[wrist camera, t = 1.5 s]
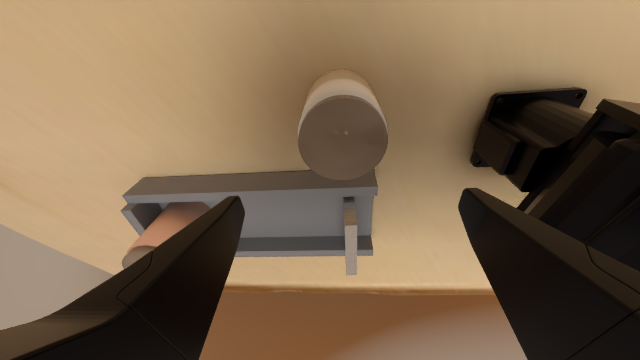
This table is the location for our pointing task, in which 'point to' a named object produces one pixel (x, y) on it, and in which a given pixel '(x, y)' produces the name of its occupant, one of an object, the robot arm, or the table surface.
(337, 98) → the cream jar
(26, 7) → the table surface
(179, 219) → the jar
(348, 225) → the plate
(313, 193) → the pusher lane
